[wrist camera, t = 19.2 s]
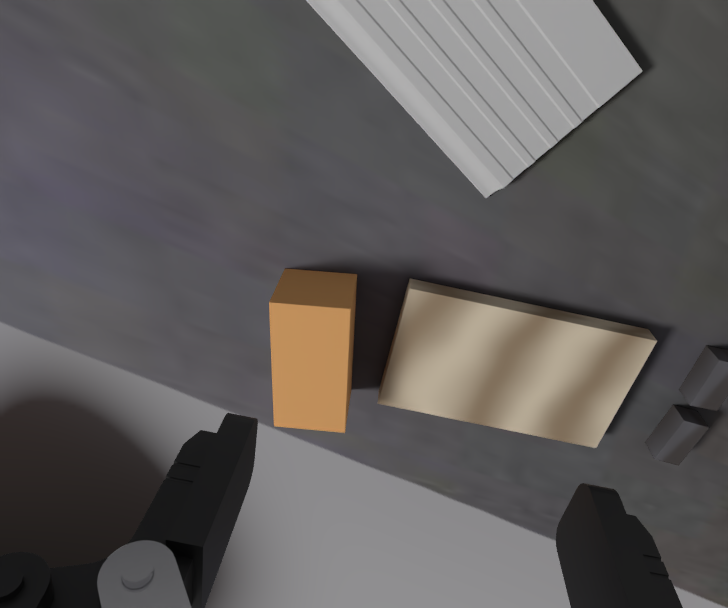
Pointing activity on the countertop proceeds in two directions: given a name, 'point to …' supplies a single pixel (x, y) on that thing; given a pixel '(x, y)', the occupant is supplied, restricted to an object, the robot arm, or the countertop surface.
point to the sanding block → (312, 348)
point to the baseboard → (488, 72)
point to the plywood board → (510, 364)
